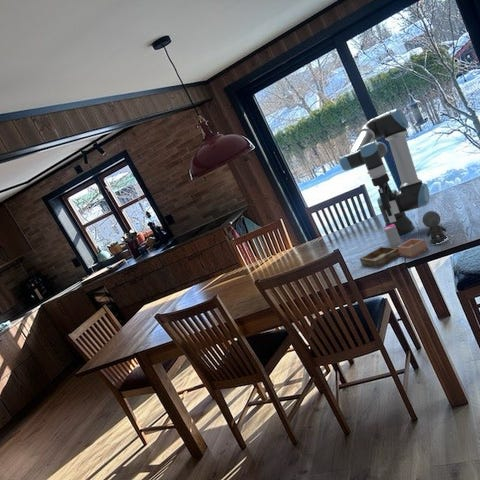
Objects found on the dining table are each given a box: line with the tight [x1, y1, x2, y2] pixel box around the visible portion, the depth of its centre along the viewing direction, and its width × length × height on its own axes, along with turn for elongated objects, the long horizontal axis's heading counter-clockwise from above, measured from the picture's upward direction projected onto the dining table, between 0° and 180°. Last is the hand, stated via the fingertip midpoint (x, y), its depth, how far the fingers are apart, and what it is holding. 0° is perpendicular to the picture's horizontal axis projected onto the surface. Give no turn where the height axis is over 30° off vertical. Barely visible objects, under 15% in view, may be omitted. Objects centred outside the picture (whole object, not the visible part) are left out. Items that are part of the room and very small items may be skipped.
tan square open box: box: [397, 238, 428, 259], centre depth 208 cm, size 9×9×5 cm
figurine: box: [422, 210, 447, 244], centre depth 207 cm, size 9×10×15 cm
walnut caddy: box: [359, 245, 400, 268], centre depth 218 cm, size 14×14×4 cm
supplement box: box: [383, 224, 403, 248], centre depth 225 cm, size 6×6×12 cm
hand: (395, 217), depth 206 cm, fingers open, 13 cm apart
